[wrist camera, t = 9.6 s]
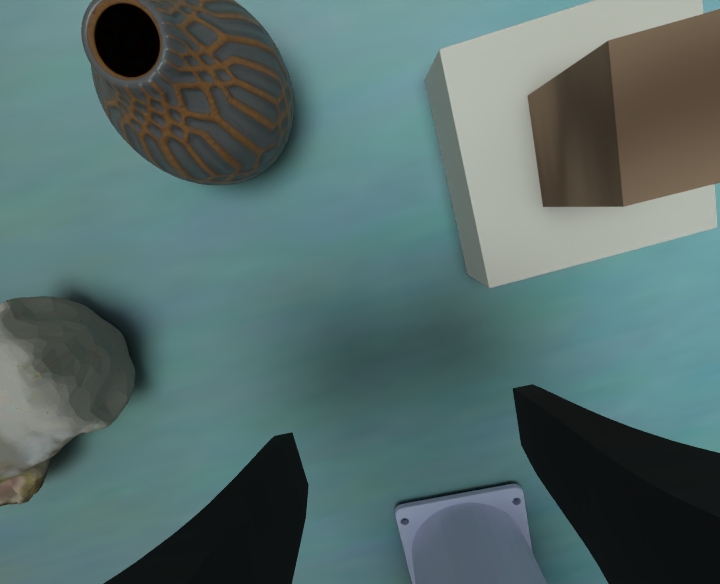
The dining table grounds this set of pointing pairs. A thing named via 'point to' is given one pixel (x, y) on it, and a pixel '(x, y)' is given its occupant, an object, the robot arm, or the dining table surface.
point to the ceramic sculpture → (54, 385)
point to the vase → (191, 85)
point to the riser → (517, 151)
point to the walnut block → (632, 118)
